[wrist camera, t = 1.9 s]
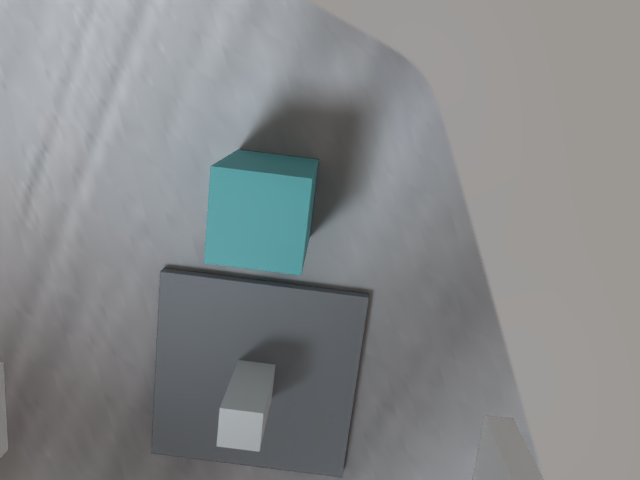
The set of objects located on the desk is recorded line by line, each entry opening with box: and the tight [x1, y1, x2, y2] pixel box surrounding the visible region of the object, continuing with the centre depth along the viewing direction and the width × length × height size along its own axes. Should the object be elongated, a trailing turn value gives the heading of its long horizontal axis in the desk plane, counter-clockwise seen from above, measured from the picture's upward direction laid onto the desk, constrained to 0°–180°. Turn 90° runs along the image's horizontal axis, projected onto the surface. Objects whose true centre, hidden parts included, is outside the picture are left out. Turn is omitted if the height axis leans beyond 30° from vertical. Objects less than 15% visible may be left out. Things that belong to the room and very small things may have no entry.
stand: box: [151, 268, 369, 477], centre depth 38 cm, size 14×14×7 cm
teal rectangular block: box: [204, 150, 319, 275], centre depth 34 cm, size 5×5×8 cm
